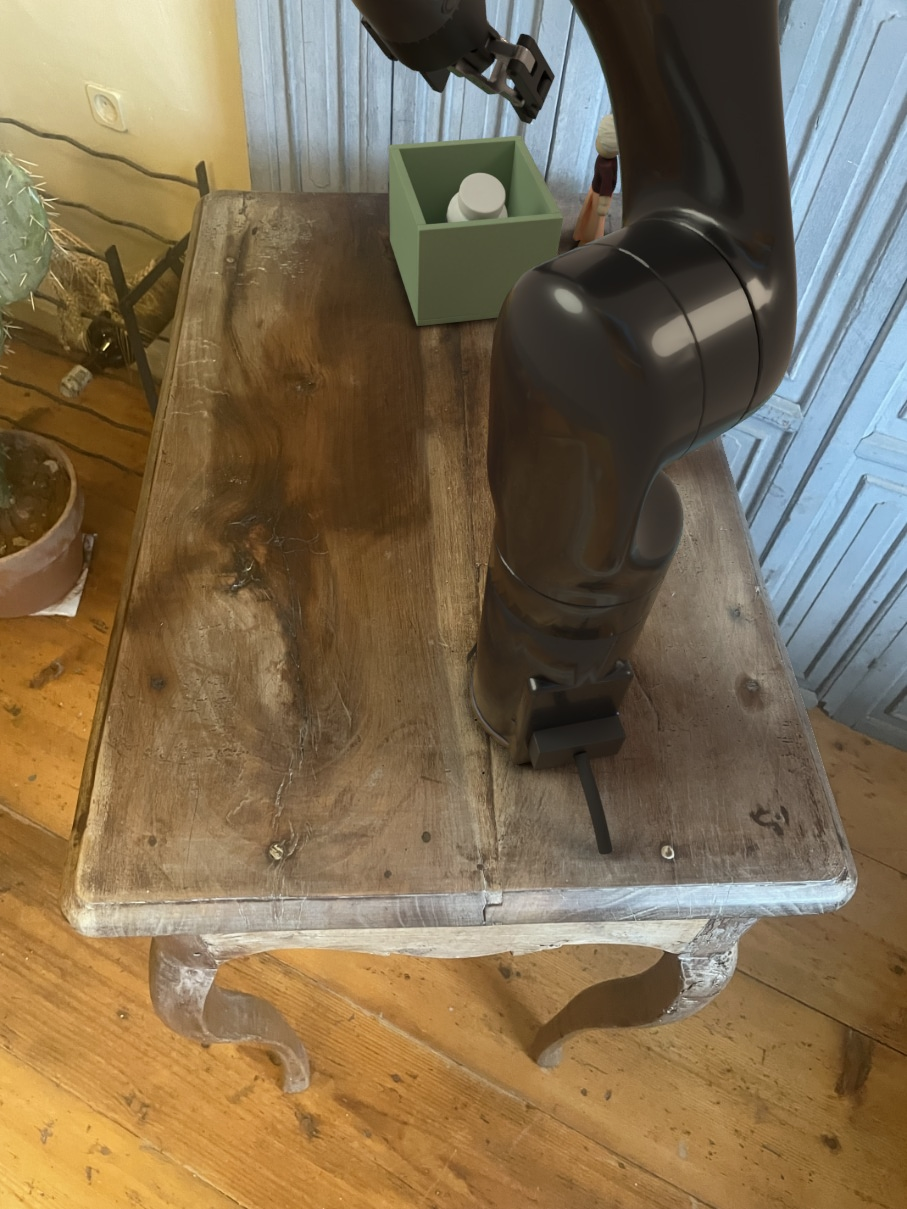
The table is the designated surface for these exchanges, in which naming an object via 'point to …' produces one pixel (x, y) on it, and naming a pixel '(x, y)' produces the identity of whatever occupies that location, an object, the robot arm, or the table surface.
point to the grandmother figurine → (599, 185)
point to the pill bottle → (478, 199)
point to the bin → (466, 226)
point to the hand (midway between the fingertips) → (486, 95)
